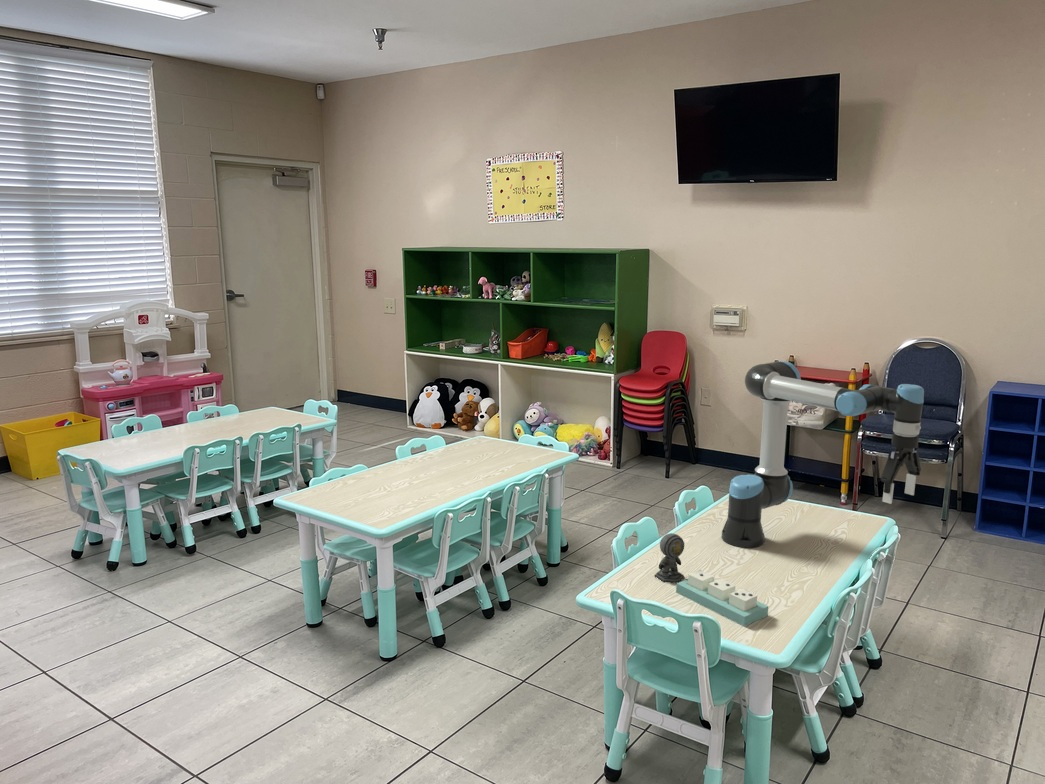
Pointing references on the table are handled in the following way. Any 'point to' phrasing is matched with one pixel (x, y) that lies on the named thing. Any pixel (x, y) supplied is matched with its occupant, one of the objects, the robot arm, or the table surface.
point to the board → (722, 605)
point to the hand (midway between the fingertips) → (898, 498)
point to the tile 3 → (742, 600)
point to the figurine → (670, 558)
